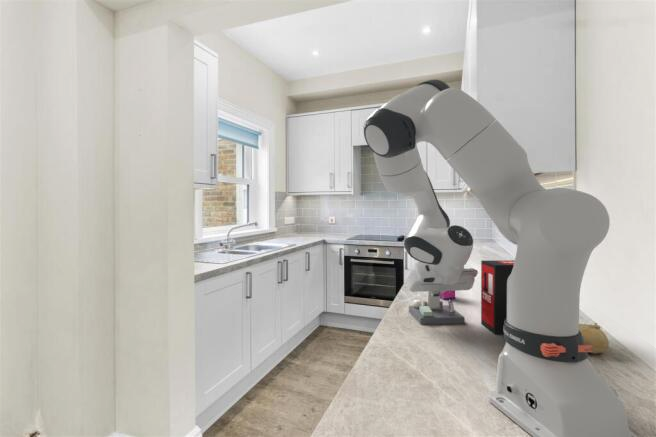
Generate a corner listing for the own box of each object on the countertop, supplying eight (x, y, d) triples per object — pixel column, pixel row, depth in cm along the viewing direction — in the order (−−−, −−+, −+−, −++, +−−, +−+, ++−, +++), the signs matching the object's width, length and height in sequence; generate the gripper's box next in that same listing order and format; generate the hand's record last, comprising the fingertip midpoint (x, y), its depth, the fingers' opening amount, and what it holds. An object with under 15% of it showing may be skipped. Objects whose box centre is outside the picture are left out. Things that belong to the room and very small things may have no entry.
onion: (589, 359, 76) (590, 329, 76) (559, 345, 84) (560, 318, 84) (616, 356, 78) (617, 327, 78) (584, 343, 86) (585, 316, 85)
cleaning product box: (534, 324, 100) (535, 260, 99) (554, 335, 91) (554, 265, 91) (481, 324, 100) (481, 260, 100) (495, 334, 91) (495, 265, 91)
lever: (439, 310, 108) (441, 274, 106) (428, 310, 108) (429, 274, 106) (437, 307, 110) (438, 272, 109) (425, 307, 110) (427, 272, 109)
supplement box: (434, 296, 133) (434, 269, 133) (446, 295, 135) (446, 268, 135) (443, 300, 128) (443, 271, 127) (455, 298, 129) (455, 270, 129)
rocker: (432, 315, 101) (432, 311, 101) (423, 316, 101) (423, 312, 101) (427, 310, 105) (428, 306, 105) (419, 310, 105) (419, 306, 105)
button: (422, 307, 110) (422, 301, 110) (414, 307, 110) (414, 302, 110) (420, 305, 113) (420, 299, 113) (412, 305, 113) (412, 299, 113)
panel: (464, 323, 101) (464, 308, 101) (420, 324, 100) (420, 309, 100) (447, 310, 114) (447, 297, 114) (408, 311, 113) (408, 298, 113)
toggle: (455, 313, 103) (453, 299, 105) (450, 313, 103) (448, 299, 105) (454, 313, 104) (452, 300, 106) (449, 313, 104) (446, 300, 106)
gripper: (475, 260, 100) (462, 285, 109) (410, 262, 99) (403, 287, 109) (483, 277, 95) (469, 302, 105) (415, 279, 95) (407, 303, 105)
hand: (435, 294), depth 107 cm, fingers closed, pressing on lever
